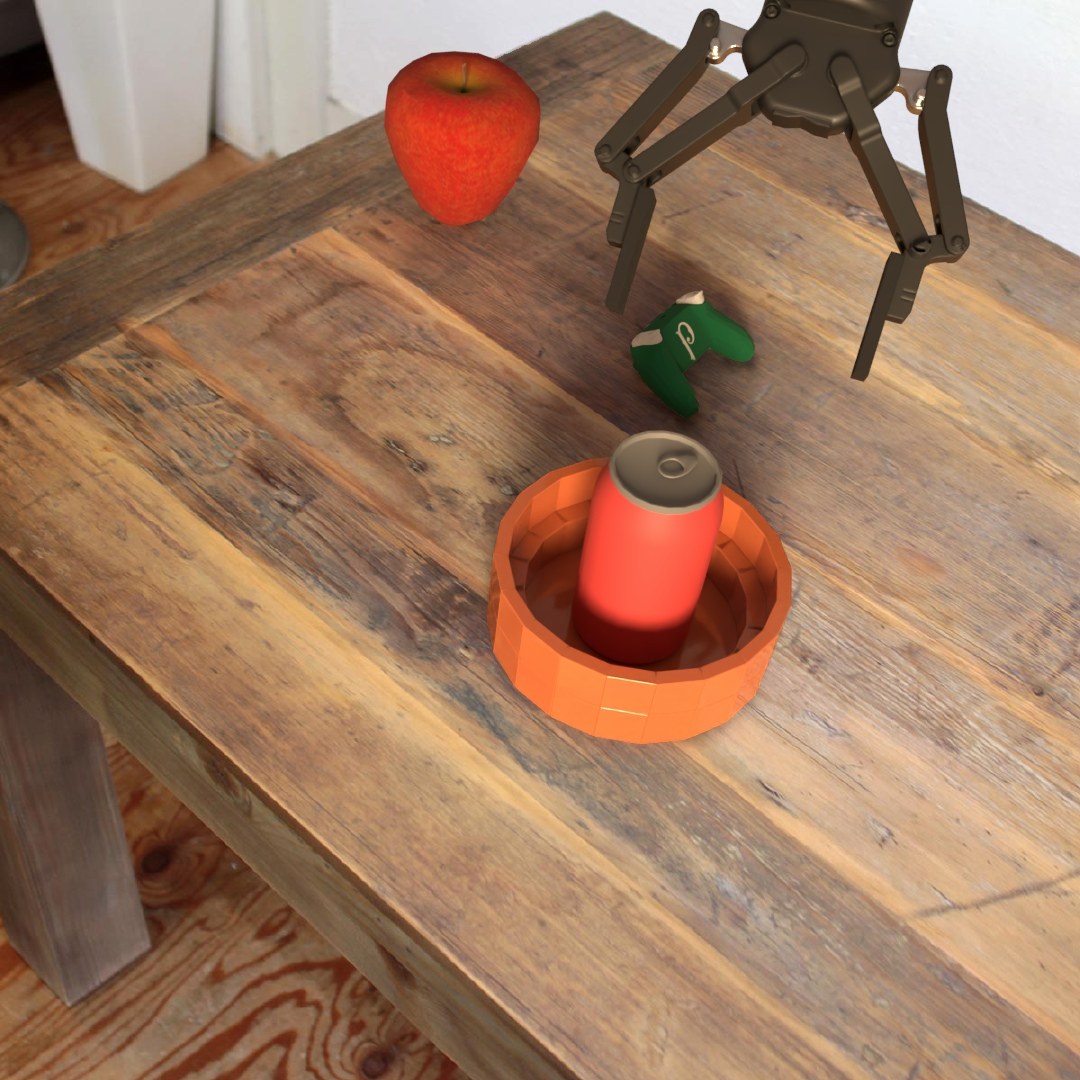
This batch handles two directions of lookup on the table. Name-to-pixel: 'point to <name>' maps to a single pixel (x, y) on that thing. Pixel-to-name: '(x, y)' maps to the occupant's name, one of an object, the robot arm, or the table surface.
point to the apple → (460, 132)
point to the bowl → (616, 687)
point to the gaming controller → (685, 348)
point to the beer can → (647, 546)
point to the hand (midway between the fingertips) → (734, 343)
